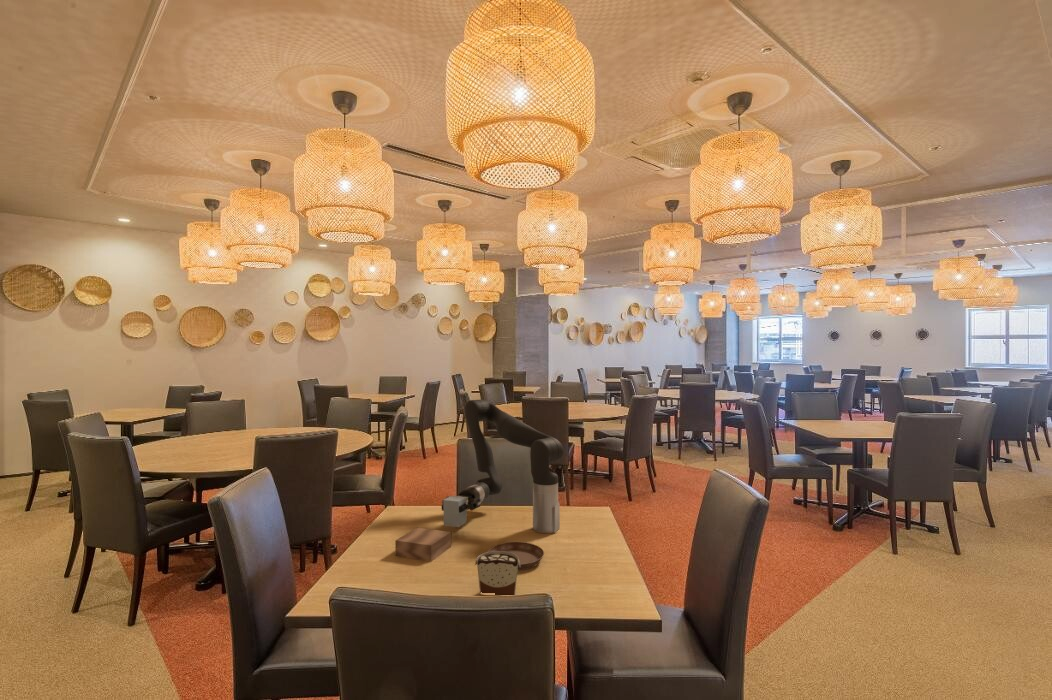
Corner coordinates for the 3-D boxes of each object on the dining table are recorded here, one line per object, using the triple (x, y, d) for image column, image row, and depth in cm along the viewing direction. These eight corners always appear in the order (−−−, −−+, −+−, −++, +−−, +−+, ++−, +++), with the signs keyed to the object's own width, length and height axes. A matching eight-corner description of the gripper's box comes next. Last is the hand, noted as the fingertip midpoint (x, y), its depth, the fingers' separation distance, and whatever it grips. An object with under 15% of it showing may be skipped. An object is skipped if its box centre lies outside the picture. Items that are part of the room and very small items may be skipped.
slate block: (466, 521, 193) (466, 496, 193) (458, 527, 188) (458, 501, 188) (451, 520, 195) (451, 495, 195) (443, 525, 190) (443, 500, 190)
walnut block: (450, 546, 179) (450, 532, 179) (431, 561, 167) (431, 545, 167) (416, 542, 184) (416, 527, 184) (395, 556, 171) (395, 540, 171)
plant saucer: (532, 577, 157) (533, 566, 157) (478, 568, 163) (478, 558, 163) (551, 555, 173) (551, 545, 173) (500, 548, 179) (500, 538, 179)
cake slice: (522, 587, 150) (522, 551, 150) (520, 597, 143) (520, 559, 143) (479, 584, 151) (479, 549, 151) (474, 594, 145) (474, 557, 145)
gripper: (454, 485, 207) (432, 496, 191) (488, 488, 202) (469, 499, 186) (454, 504, 207) (433, 517, 191) (489, 508, 202) (469, 521, 186)
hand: (451, 508), depth 189 cm, fingers closed on slate block, 6 cm apart
